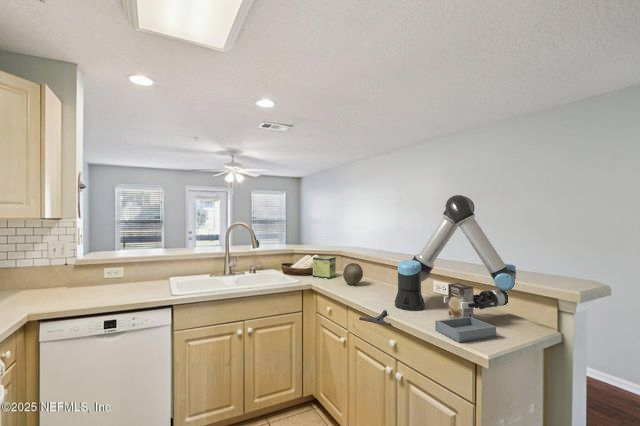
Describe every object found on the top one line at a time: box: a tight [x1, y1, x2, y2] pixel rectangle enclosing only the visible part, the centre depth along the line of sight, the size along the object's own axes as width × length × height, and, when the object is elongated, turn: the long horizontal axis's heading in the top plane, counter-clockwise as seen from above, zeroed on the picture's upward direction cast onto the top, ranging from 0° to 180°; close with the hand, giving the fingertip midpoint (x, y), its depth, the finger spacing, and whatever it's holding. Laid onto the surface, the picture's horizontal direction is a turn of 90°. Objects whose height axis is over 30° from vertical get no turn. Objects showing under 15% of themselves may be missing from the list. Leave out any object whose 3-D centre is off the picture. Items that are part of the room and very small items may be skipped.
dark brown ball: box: [342, 262, 364, 286], centre depth 209 cm, size 14×14×15 cm
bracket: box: [358, 309, 392, 327], centre depth 139 cm, size 14×15×3 cm
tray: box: [434, 316, 497, 344], centre depth 121 cm, size 13×18×4 cm
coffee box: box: [447, 282, 474, 319], centre depth 136 cm, size 9×6×16 cm
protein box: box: [312, 256, 337, 280], centre depth 237 cm, size 10×16×16 cm
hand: (452, 302), depth 135 cm, fingers open, 10 cm apart
